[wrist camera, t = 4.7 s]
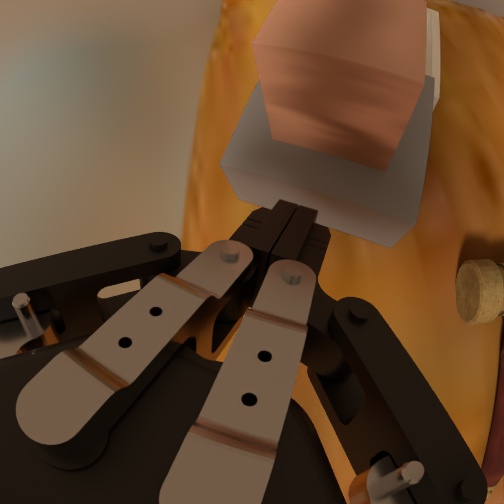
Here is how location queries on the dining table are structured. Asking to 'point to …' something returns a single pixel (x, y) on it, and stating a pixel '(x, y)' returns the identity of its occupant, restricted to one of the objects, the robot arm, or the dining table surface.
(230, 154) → the grey platform
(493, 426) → the gavel
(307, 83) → the terracotta block
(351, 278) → the dining table surface
